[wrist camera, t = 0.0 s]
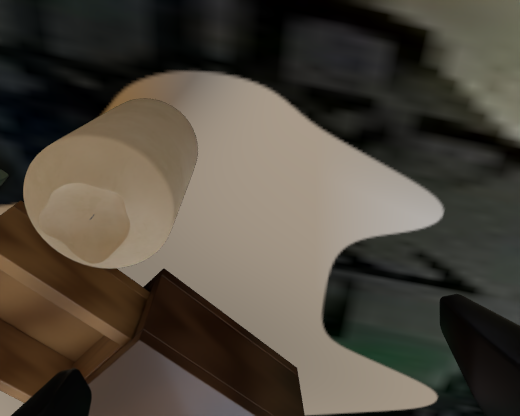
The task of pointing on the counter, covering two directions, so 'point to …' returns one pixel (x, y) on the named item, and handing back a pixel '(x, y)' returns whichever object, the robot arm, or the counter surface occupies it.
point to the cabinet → (193, 364)
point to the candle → (113, 184)
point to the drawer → (56, 309)
